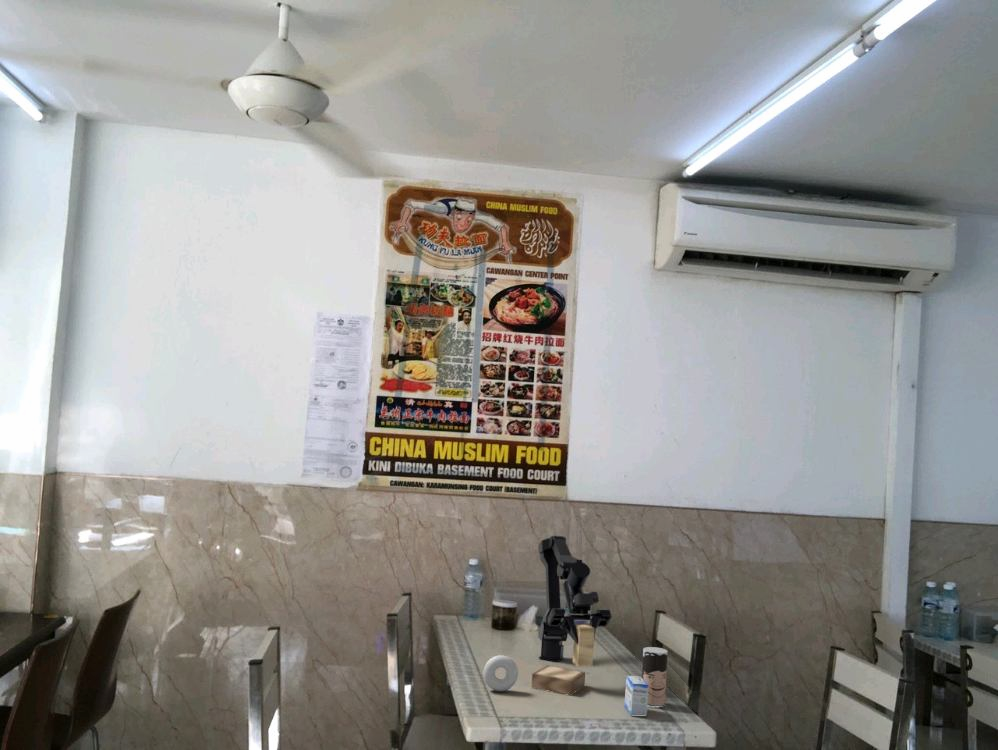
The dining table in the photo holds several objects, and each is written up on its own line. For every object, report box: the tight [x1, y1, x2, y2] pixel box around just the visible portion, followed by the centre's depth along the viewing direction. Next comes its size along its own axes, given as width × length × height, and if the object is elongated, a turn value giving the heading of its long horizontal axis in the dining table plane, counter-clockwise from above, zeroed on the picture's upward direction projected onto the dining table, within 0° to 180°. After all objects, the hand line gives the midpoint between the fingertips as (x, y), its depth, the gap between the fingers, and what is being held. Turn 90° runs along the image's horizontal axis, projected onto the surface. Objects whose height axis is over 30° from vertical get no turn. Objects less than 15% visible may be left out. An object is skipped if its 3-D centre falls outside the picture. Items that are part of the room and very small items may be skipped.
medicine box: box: [623, 675, 648, 716], centre depth 234 cm, size 8×4×9 cm, turn 5°
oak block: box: [572, 624, 596, 668], centre depth 255 cm, size 4×4×11 cm
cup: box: [641, 646, 669, 706], centre depth 243 cm, size 7×7×15 cm
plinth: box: [531, 664, 586, 696], centre depth 254 cm, size 12×12×4 cm
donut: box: [482, 654, 519, 692], centre depth 246 cm, size 10×4×10 cm, turn 96°
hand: (585, 642), depth 253 cm, fingers closed on oak block, 4 cm apart
